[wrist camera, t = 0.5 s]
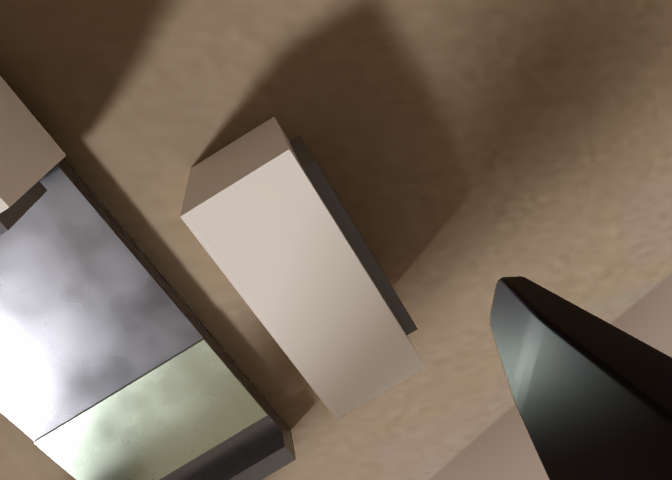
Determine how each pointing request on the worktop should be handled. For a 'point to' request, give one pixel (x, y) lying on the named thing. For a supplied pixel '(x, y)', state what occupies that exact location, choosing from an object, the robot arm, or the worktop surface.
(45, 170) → the block
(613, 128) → the worktop surface
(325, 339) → the white rectangular prism
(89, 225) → the rail
